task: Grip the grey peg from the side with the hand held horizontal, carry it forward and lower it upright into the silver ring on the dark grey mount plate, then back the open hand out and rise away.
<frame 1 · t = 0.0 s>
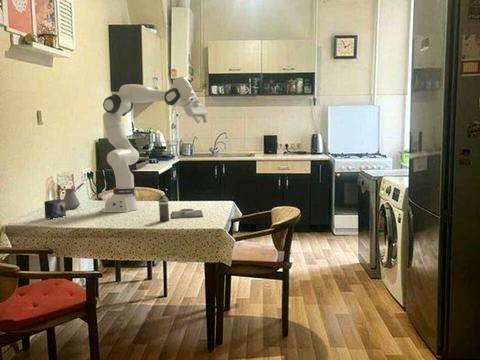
hand: (202, 122, 283), 54 cm above the table, tool tilted 30°, fingers open, 8 cm apart
small box: (55, 218, 291), on the table
coffee pot: (75, 207, 324), on the table
grey peg: (164, 220, 275), on the table
mount plate: (187, 215, 289), on the table
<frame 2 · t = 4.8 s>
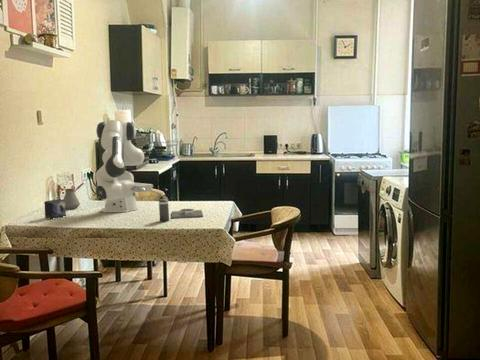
hand: (146, 185, 262), 22 cm above the table, tool horizontal, fingers open, 8 cm apart
nothing on the table moved.
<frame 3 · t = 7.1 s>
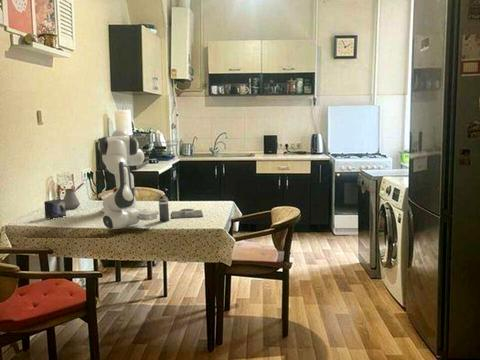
hand: (151, 211, 267), 7 cm above the table, tool horizontal, fingers open, 8 cm apart
nothing on the table moved.
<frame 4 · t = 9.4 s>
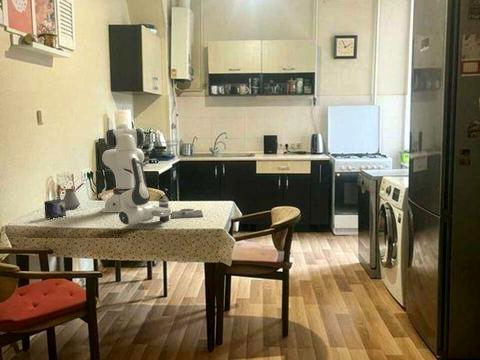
hand: (165, 208, 275), 7 cm above the table, tool horizontal, fingers closed on grey peg, 5 cm apart
grey peg: (164, 220, 275), on the table, touching gripper
everything else where it was.
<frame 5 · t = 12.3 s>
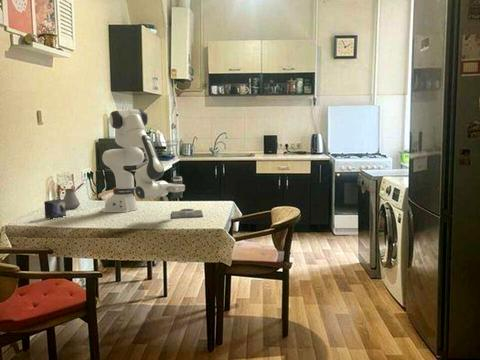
hand: (178, 185, 282), 19 cm above the table, tool horizontal, fingers closed on grey peg, 5 cm apart
grey peg: (178, 197, 283), point 12 cm above the table, touching gripper
everything else where it was.
when the fingers open (9 cm above the table, at t = 15.5 s): grey peg stays where it is, resting on mount plate.
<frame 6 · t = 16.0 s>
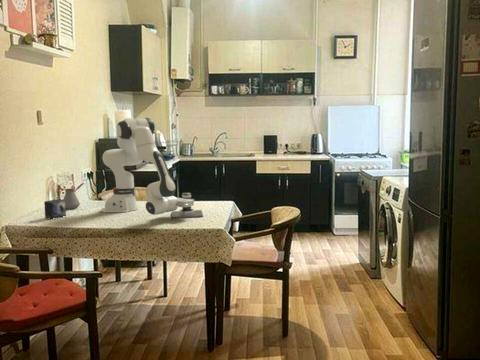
hand: (187, 199, 289), 9 cm above the table, tool horizontal, fingers open, 8 cm apart
grey peg: (187, 213, 289), point 1 cm above the table, touching mount plate
everything else where it was.
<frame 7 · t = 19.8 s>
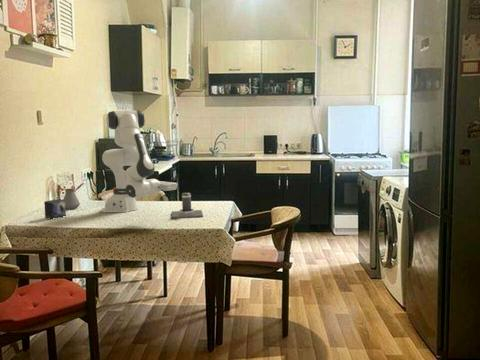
hand: (170, 183, 277), 21 cm above the table, tool horizontal, fingers open, 8 cm apart
nothing on the table moved.
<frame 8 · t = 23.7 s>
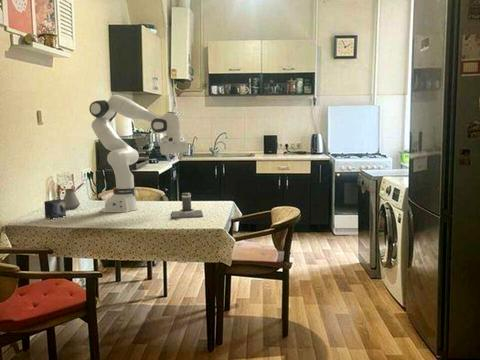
hand: (174, 160, 301), 31 cm above the table, tool pointing down, fingers open, 8 cm apart
nothing on the table moved.
at the end: grey peg 0.0 cm off-centre on the mount plate, point 1.0 cm above the mount plate's base; grey peg tilted 0°; the gripper is holding nothing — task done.
